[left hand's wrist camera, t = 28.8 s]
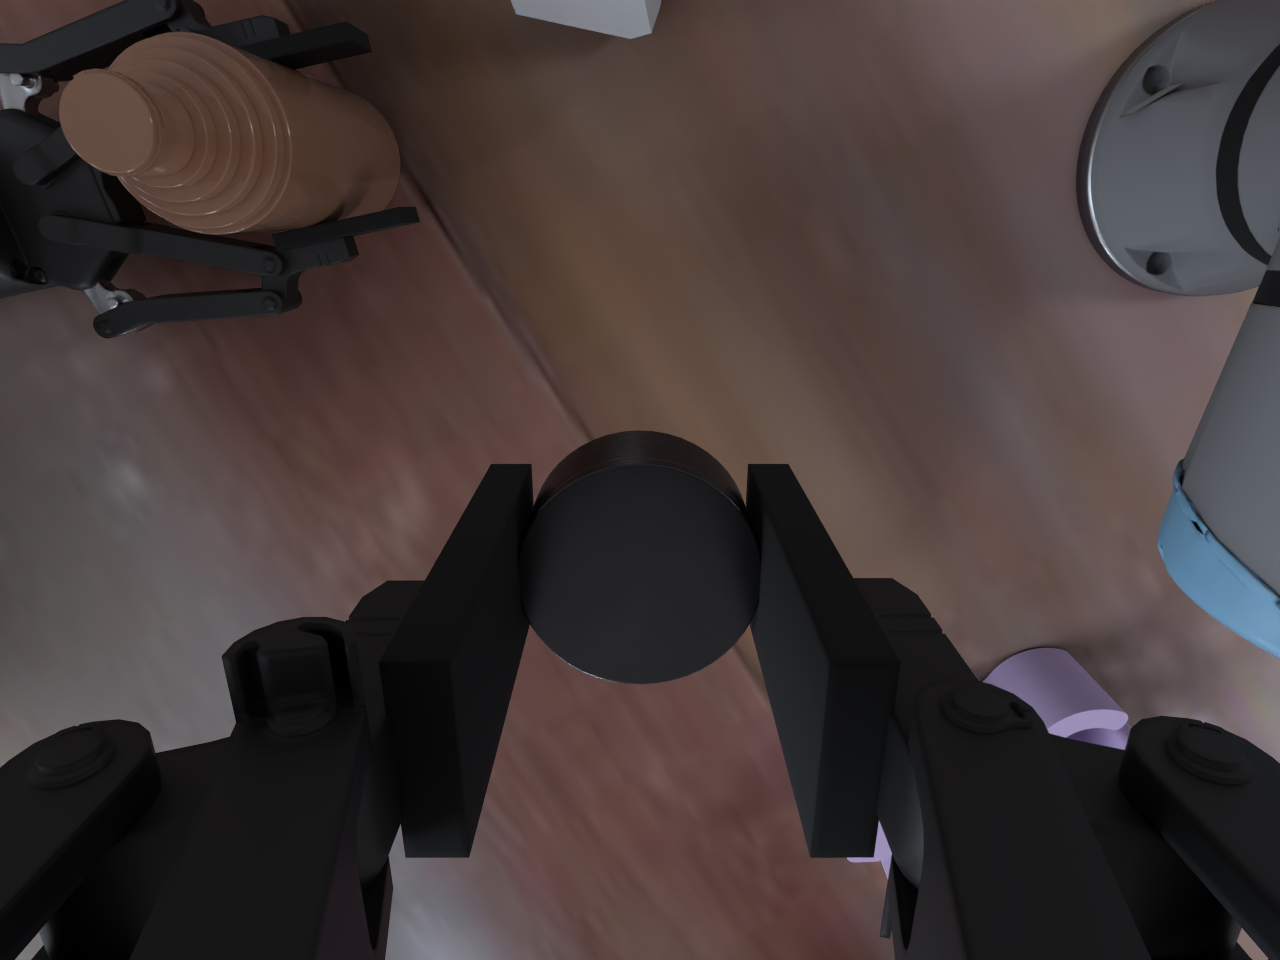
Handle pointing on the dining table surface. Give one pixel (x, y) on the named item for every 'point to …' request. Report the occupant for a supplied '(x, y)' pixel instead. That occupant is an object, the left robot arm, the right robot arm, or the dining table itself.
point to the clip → (1050, 707)
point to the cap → (639, 559)
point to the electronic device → (595, 14)
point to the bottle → (230, 137)
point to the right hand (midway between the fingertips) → (385, 129)
